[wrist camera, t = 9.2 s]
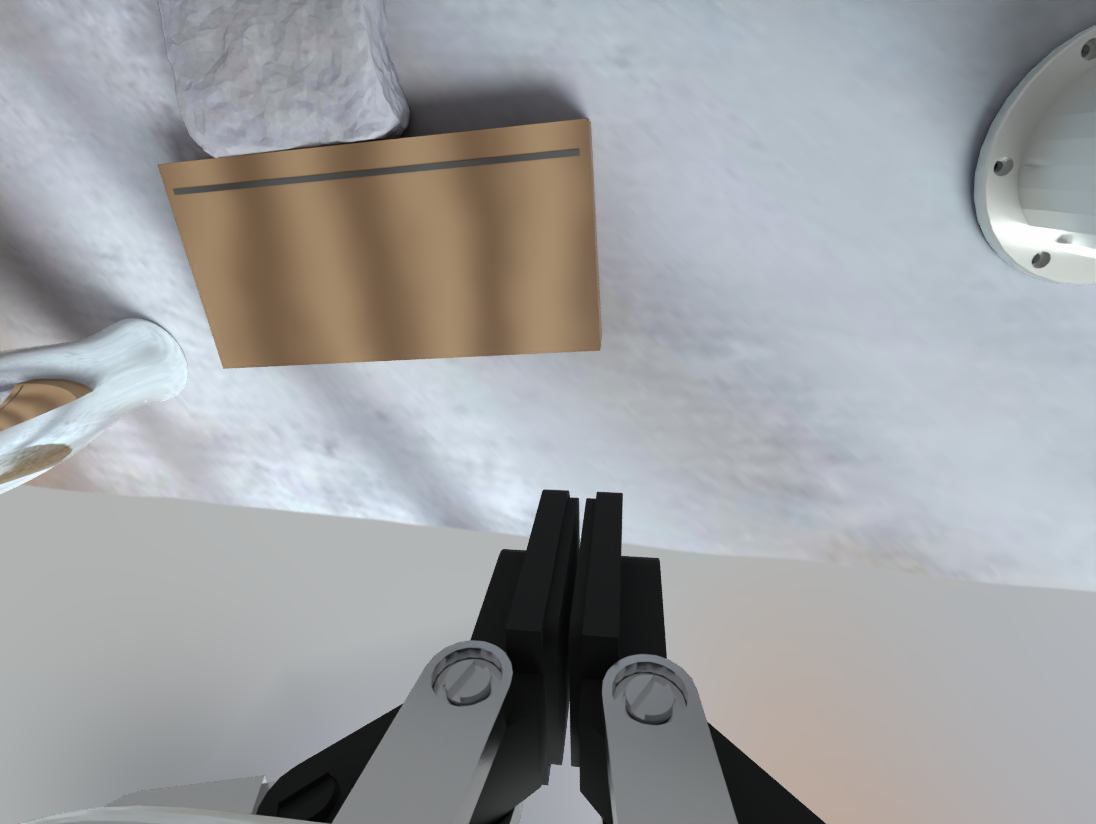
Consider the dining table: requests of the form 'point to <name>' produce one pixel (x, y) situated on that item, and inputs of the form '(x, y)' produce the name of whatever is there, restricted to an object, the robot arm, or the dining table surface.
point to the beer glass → (80, 393)
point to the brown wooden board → (396, 247)
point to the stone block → (282, 73)
